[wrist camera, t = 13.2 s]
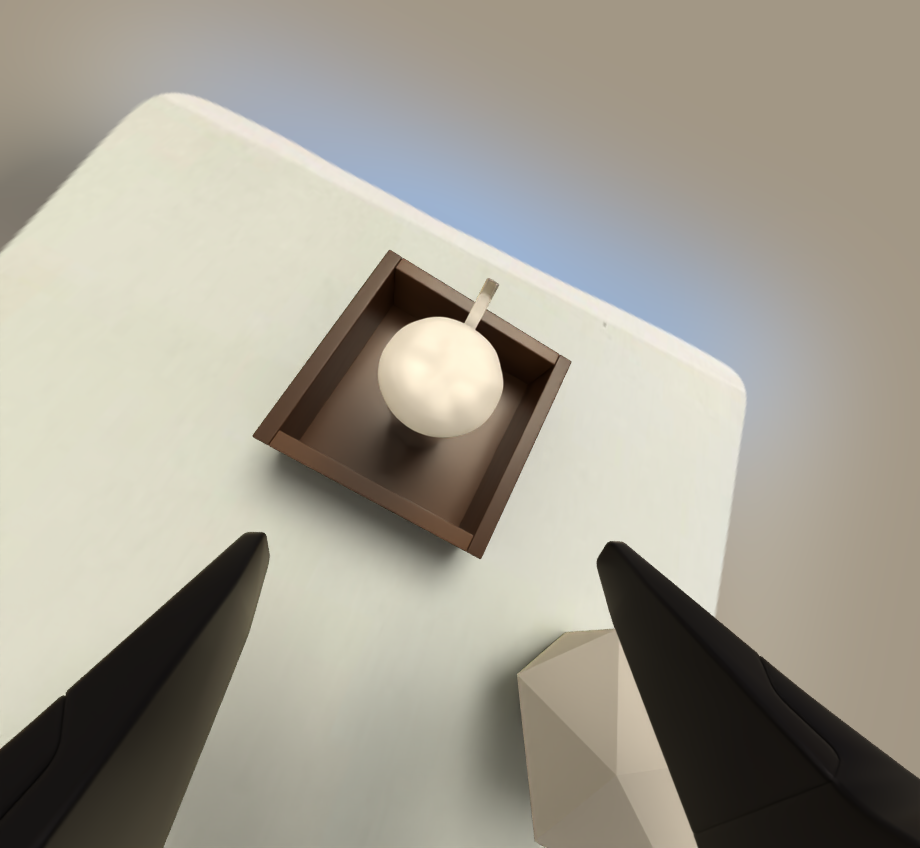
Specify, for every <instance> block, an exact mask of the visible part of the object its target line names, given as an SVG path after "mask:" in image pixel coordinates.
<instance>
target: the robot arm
mask: <svg viewBox="0 0 920 848" xmlns="http://www.w3.org/2000/svg"><path fill="white" fill-rule="evenodd" d="M269 558H270V554H269V548H268V542H267V536H266V534H265V533H263V532H247V533H245V534H243V535H242V536H241V537H239V538H238V539H237V540H236V541H235V542H234V543H233V544H232V545H230V546H229V547H228V548H227V549H226V550H225V551H224V552H223V553H221V554H220V555H219V556H218V557H217V558H216V559H215V560H214V561H212V562H211V563H210V564H209V565H208V566H207V567H206V568H205V569H203V570H202V571H201V572H200V573H199V574H198V575H197V576H196V577H194V578H193V579H192V580H191V581H190V582H189V583H188V584H187V585H185V586H184V587H183V588H182V589H181V590H180V591H179V592H178V593H176V594H175V595H174V596H173V597H172V598H171V599H170V600H169V601H167V602H166V603H165V604H164V605H163V606H162V607H161V608H160V609H158V610H157V611H156V612H155V613H154V614H153V615H152V616H151V617H149V618H148V619H147V620H146V621H145V622H144V623H143V624H142V625H140V626H139V627H138V628H137V629H136V630H135V631H134V632H133V633H131V634H130V635H129V636H128V637H127V638H126V639H125V640H124V641H122V642H121V643H120V644H119V645H118V646H117V647H116V648H115V649H113V650H112V651H111V652H110V653H109V654H108V655H107V656H106V657H104V658H103V659H102V660H101V661H100V662H99V663H98V664H97V665H95V666H94V667H93V668H92V669H91V670H90V671H89V672H88V673H86V674H85V675H84V676H83V677H82V678H81V679H80V680H79V681H77V682H76V683H75V684H74V685H73V686H72V687H71V688H70V689H68V690H67V692H66V696H61V697H59V698H58V699H57V700H56V701H55V702H54V703H52V704H51V705H50V706H49V707H48V708H47V709H46V710H45V711H43V712H42V713H41V714H40V715H39V716H38V717H37V718H36V719H34V720H33V721H32V722H31V723H30V724H29V725H28V726H26V727H25V728H24V729H23V730H22V731H21V732H19V733H18V734H17V735H16V736H15V737H14V738H13V739H11V740H10V741H9V742H8V743H7V744H6V745H4V746H3V747H2V748H1V749H0V848H163V847H164V845H165V842H166V840H167V837H168V835H169V832H170V830H171V827H172V825H173V822H174V820H175V817H176V815H177V812H178V810H179V807H180V805H181V802H182V800H183V797H184V795H185V792H186V790H187V787H188V785H189V782H190V780H191V777H192V775H193V772H194V770H195V767H196V765H197V762H198V760H199V757H200V755H201V752H202V750H203V747H204V745H205V742H206V740H207V737H208V735H209V732H210V730H211V727H212V725H213V722H214V720H215V717H216V715H217V712H218V710H219V707H220V705H221V702H222V700H223V697H224V695H225V692H226V690H227V687H228V685H229V682H230V680H231V677H232V675H233V672H234V670H235V667H236V665H237V662H238V660H239V657H240V655H241V652H242V650H243V647H244V645H245V642H246V639H247V637H248V634H249V631H250V628H251V624H252V621H253V618H254V614H255V611H256V607H257V603H258V600H259V596H260V593H261V589H262V586H263V582H264V579H265V575H266V572H267V568H268V564H269ZM597 569H598V573H599V577H600V580H601V584H602V587H603V591H604V594H605V598H606V602H607V605H608V609H609V612H610V616H611V619H612V622H613V625H614V628H615V630H616V633H617V636H618V638H619V641H620V644H621V646H622V649H623V651H624V654H625V657H626V659H627V662H628V665H629V667H630V670H631V672H632V675H633V678H634V680H635V683H636V686H637V688H638V691H639V694H640V696H641V699H642V701H643V704H644V707H645V709H646V712H647V715H648V717H649V720H650V722H651V725H652V728H653V730H654V733H655V736H656V738H657V741H658V743H659V746H660V749H661V751H662V754H663V757H664V759H665V762H666V764H667V767H668V770H669V772H670V775H671V778H672V780H673V783H674V786H675V788H676V791H677V793H678V796H679V799H680V801H681V804H682V807H683V809H684V812H685V814H686V817H687V820H688V822H689V825H690V828H691V830H692V832H693V833H694V834H693V836H694V839H695V841H696V844H697V847H698V848H920V779H919V778H918V777H916V776H915V775H914V774H912V773H911V772H909V771H908V770H906V769H905V768H904V767H903V766H901V765H900V764H899V763H897V762H896V761H895V760H893V759H892V758H891V757H889V756H888V755H887V754H885V753H884V752H883V751H882V750H880V749H879V748H878V747H876V746H875V745H873V744H872V743H871V742H870V741H868V740H867V739H866V738H864V737H863V736H861V735H860V734H859V733H858V732H856V731H855V730H854V729H852V728H851V727H850V726H849V725H847V724H846V723H844V722H843V721H841V719H839V718H838V717H837V716H835V715H834V714H833V713H831V712H830V711H829V710H827V709H826V708H825V707H824V706H822V705H821V704H820V703H818V702H817V701H816V700H814V699H813V698H812V697H811V696H809V695H808V694H807V693H806V692H804V691H803V690H802V689H801V688H799V687H798V686H797V685H796V684H794V683H793V682H792V681H791V680H789V679H788V678H787V677H786V676H784V675H783V674H782V673H781V672H780V671H778V670H777V669H776V668H775V667H773V666H772V665H771V664H770V663H769V662H767V661H766V660H765V659H764V658H763V657H761V656H759V655H758V654H757V652H755V651H754V650H753V649H752V648H751V647H749V646H748V645H747V644H746V643H745V642H743V641H742V640H741V639H740V638H739V637H737V636H736V635H735V634H734V633H733V632H731V631H730V630H729V629H728V628H727V627H725V626H724V625H723V624H722V623H720V622H719V621H718V620H717V619H716V618H715V617H713V616H712V615H711V614H710V613H708V612H707V611H706V610H705V609H704V608H702V607H701V606H700V605H699V604H698V603H696V602H695V601H694V600H693V599H692V598H690V597H689V596H688V595H687V594H686V593H684V592H683V591H682V590H681V589H680V588H678V587H677V586H676V585H675V584H674V583H672V582H671V581H670V580H669V579H668V578H666V577H665V576H664V575H663V574H662V573H660V572H659V571H658V570H657V569H656V568H654V567H653V566H652V565H651V564H649V563H648V562H647V561H646V560H645V559H643V558H642V557H641V556H640V555H639V554H637V553H636V552H635V551H634V550H633V549H631V548H630V547H629V546H628V545H627V544H625V543H624V542H620V541H610V542H608V543H607V544H606V545H605V547H604V549H603V550H602V552H601V553H600V555H599V557H598V558H597Z"/></svg>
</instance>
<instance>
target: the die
mask: <svg viewBox="0 0 920 848" xmlns="http://www.w3.org/2000/svg"><path fill="white" fill-rule="evenodd" d="M517 679H518V688H519V698H520V707H521V717H522V726H523V736H524V745H525V754H526V764H527V773H528V783H529V792H530V801H531V811H532V820H533V830H534V839H535V842H537V843H539V844H541V845H542V846H544V847H546V848H698V847H697V844H696V841H695V839H694V836H693V834H694V833H693V832H692V830H691V828H690V825H689V822H688V820H687V817H686V814H685V812H684V809H683V807H682V804H681V801H680V799H679V796H678V793H677V791H676V788H675V786H674V783H673V780H672V778H671V775H670V772H669V770H668V767H667V764H666V762H665V759H664V757H663V754H662V751H661V749H660V746H659V743H658V741H657V738H656V736H655V733H654V730H653V728H652V725H651V722H650V720H649V717H648V715H647V712H646V709H645V707H644V704H643V701H642V699H641V696H640V694H639V691H638V688H637V686H636V683H635V680H634V678H633V675H632V672H631V670H630V667H629V665H628V662H627V659H626V657H625V654H624V651H623V649H622V646H621V644H620V641H619V638H618V636H617V633H616V630H615V629H603V630H589V631H575V632H565V633H564V634H563V635H562V636H561V637H559V638H558V639H557V640H556V641H555V642H554V643H553V644H551V645H550V646H549V647H548V648H547V649H546V650H544V651H543V652H542V653H541V654H540V655H539V656H537V657H536V658H535V659H534V660H533V661H532V662H531V663H529V664H528V665H527V666H526V667H525V668H524V669H522V670H521V671H520V672H519V673H518V674H517Z"/></svg>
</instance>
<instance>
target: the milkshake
mask: <svg viewBox="0 0 920 848" xmlns="http://www.w3.org/2000/svg"><path fill="white" fill-rule="evenodd" d="M498 286H499V284H498V283H497V282H495V281H493V280H492V279H490V278H487V280H486V282H485V283H484V285H483V287H482V289H481V291H480V293H479V295H478V297H477V299H476V301H475V303H474V305H473V307H472V309H471V311H470V313H469V315H468V317H467V319H466V321H465V323H462V322H459V321H457V320H454V319H450V318H445V317H430V318H425V319H421V320H418V321H415V322H412V323H410V324H408V325H406V326H404V327H403V328H402V329H400V330H399V331H398V332H397V333H396V334H395V335H394V336H393V337H392V339H391V340H390V341H389V343H388V344H387V345H386V347H385V349H384V350H383V352H382V355H381V358H380V361H379V367H378V382H379V387H380V390H381V393H382V395H383V398H384V401H385V403H386V406H387V408H388V411H389V414H390V417H391V421H392V425H393V429H394V433H395V434H396V435H397V436H398V437H399V438H400V439H401V440H402V441H403V442H404V443H405V444H406V445H407V446H412V447H418V448H423V449H425V448H427V447H429V446H431V445H433V444H435V443H438V442H440V441H443V440H447V439H450V438H453V437H457V436H460V435H464V434H467V433H469V432H472V431H474V430H475V429H477V428H479V427H480V426H481V425H483V424H484V423H485V422H486V421H487V420H488V418H489V417H490V416H491V414H492V413H493V411H494V410H495V408H496V406H497V404H498V402H499V400H500V397H501V395H502V391H503V377H502V372H501V367H500V362H499V359H498V356H497V353H496V351H495V349H494V348H493V346H492V345H491V344H490V342H489V341H488V340H487V339H486V338H485V337H484V336H482V335H481V334H480V333H479V332H477V331H476V330H475V329H476V327H477V325H478V323H479V322H480V320H481V318H482V316H483V314H484V312H485V311H486V309H487V307H488V305H489V303H490V301H491V300H492V298H493V296H494V294H495V292H496V290H497V289H498Z"/></svg>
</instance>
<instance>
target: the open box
mask: <svg viewBox="0 0 920 848" xmlns="http://www.w3.org/2000/svg"><path fill="white" fill-rule="evenodd" d="M474 303H475V302H474V301H472V300H471V299H469V298H467V297H466V296H464V295H463V294H461V293H459V292H458V291H456V290H454V289H453V288H451V287H450V286H448V285H446V284H445V283H443V282H441V281H440V280H438V279H437V278H435V277H433V276H432V275H430V274H428V273H427V272H425V271H424V270H422V269H420V268H419V267H417V266H415V265H414V264H412V263H411V262H409V261H407V260H406V259H404V258H402V257H401V256H399V255H398V254H396V253H394V252H393V251H391V250H389V251H388V252H387V253H386V255H385V256H384V257H383V259H382V260H381V262H380V263H379V264H378V266H377V267H376V268H375V270H374V271H373V272H372V274H371V275H370V276H369V278H368V279H367V281H366V282H365V283H364V285H363V286H362V287H361V289H360V290H359V291H358V293H357V294H356V296H355V297H354V298H353V300H352V301H351V302H350V304H349V305H348V306H347V308H346V309H345V310H344V312H343V313H342V315H341V316H340V317H339V319H338V320H337V321H336V323H335V324H334V325H333V327H332V328H331V329H330V331H329V332H328V334H327V335H326V336H325V338H324V339H323V340H322V342H321V343H320V344H319V346H318V347H317V349H316V350H315V351H314V353H313V354H312V355H311V357H310V358H309V359H308V361H307V362H306V363H305V365H304V366H303V368H302V369H301V370H300V372H299V373H298V374H297V376H296V377H295V378H294V380H293V381H292V382H291V384H290V385H289V387H288V388H287V389H286V391H285V392H284V393H283V395H282V396H281V397H280V399H279V400H278V402H277V403H276V404H275V406H274V407H273V408H272V410H271V411H270V412H269V414H268V415H267V416H266V418H265V419H264V421H263V422H262V423H261V425H260V426H259V427H258V429H257V430H256V431H255V433H254V434H253V438H255V439H257V440H259V441H261V442H263V443H265V444H266V445H269V446H270V447H272V448H274V449H276V450H278V451H279V452H281V453H283V454H285V455H287V456H289V457H291V458H293V459H294V460H296V461H298V462H300V463H302V464H304V465H306V466H307V467H309V468H311V469H313V470H315V471H317V472H319V473H320V474H322V475H324V476H326V477H328V478H330V479H332V480H334V481H335V482H337V483H339V484H341V485H343V486H345V487H347V488H348V489H350V490H352V491H354V492H356V493H358V494H360V495H361V496H363V497H365V498H367V499H369V500H371V501H373V502H374V503H376V504H378V505H380V506H382V507H384V508H386V509H388V510H389V511H391V512H393V513H395V514H397V515H399V516H401V517H402V518H404V519H406V520H408V521H410V522H412V523H414V524H415V525H417V526H419V527H421V528H423V529H425V530H427V531H429V532H430V533H432V534H434V535H436V536H438V537H440V538H442V539H443V540H445V541H447V542H449V543H451V544H453V545H455V546H456V547H458V548H460V549H462V550H464V551H466V552H468V553H470V554H471V555H473V556H475V557H477V558H479V559H481V558H482V556H483V554H484V552H485V549H486V547H487V545H488V543H489V541H490V539H491V536H492V534H493V532H494V530H495V528H496V525H497V523H498V521H499V519H500V517H501V515H502V512H503V510H504V508H505V506H506V504H507V501H508V499H509V497H510V495H511V493H512V491H513V488H514V486H515V484H516V482H517V480H518V478H519V475H520V473H521V471H522V469H523V467H524V464H525V462H526V460H527V458H528V456H529V454H530V451H531V449H532V447H533V445H534V443H535V440H536V438H537V436H538V434H539V432H540V430H541V427H542V425H543V423H544V421H545V419H546V416H547V414H548V412H549V410H550V408H551V406H552V403H553V401H554V399H555V397H556V395H557V393H558V390H559V388H560V386H561V384H562V382H563V379H564V377H565V375H566V373H567V371H568V369H569V366H570V364H571V361H570V360H568V359H567V358H565V357H563V356H562V355H559V354H558V353H557V352H555V351H553V350H552V349H550V348H549V347H547V346H545V345H544V344H542V343H540V342H539V341H537V340H536V339H534V338H532V337H531V336H529V335H527V334H526V333H524V332H523V331H521V330H519V329H518V328H516V327H514V326H513V325H511V324H510V323H508V322H506V321H505V320H503V319H501V318H500V317H498V316H497V315H495V314H493V313H492V312H490V311H488V310H487V309H486V311H485V312H484V314H483V316H482V318H481V320H480V322H479V323H478V325H477V327H476V329H475V330H476V331H477V332H479V333H480V334H481V335H482V336H484V337H485V338H486V339H487V340H488V341H489V342H490V344H491V345H492V346H493V348H494V349H495V351H496V353H497V356H498V359H499V362H500V367H501V372H502V377H503V391H502V395H501V397H500V400H499V402H498V404H497V406H496V408H495V410H494V411H493V413H492V414H491V416H490V417H489V418H488V420H487V421H486V422H485V423H484V424H483V425H481V426H480V427H479V428H477V429H475V430H474V431H472V432H469V433H467V434H464V435H460V436H457V437H453V438H450V439H447V440H443V441H440V442H438V443H435V444H433V445H431V446H429V447H427V448H425V449H423V448H418V447H412V446H407V445H406V444H405V443H404V442H403V441H402V440H401V439H400V438H399V437H398V436H397V435H396V434H395V433H394V429H393V425H392V421H391V417H390V414H389V411H388V408H387V406H386V403H385V401H384V398H383V395H382V393H381V390H380V387H379V382H378V367H379V361H380V358H381V355H382V352H383V350H384V349H385V347H386V345H387V344H388V343H389V341H390V340H391V339H392V337H393V336H394V335H395V334H396V333H397V332H398V331H399V330H400V329H402V328H403V327H404V326H406V325H408V324H410V323H412V322H415V321H418V320H421V319H425V318H430V317H445V318H450V319H454V320H457V321H459V322H462V323H465V321H466V319H467V317H468V315H469V313H470V311H471V309H472V307H473V305H474Z"/></svg>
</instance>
